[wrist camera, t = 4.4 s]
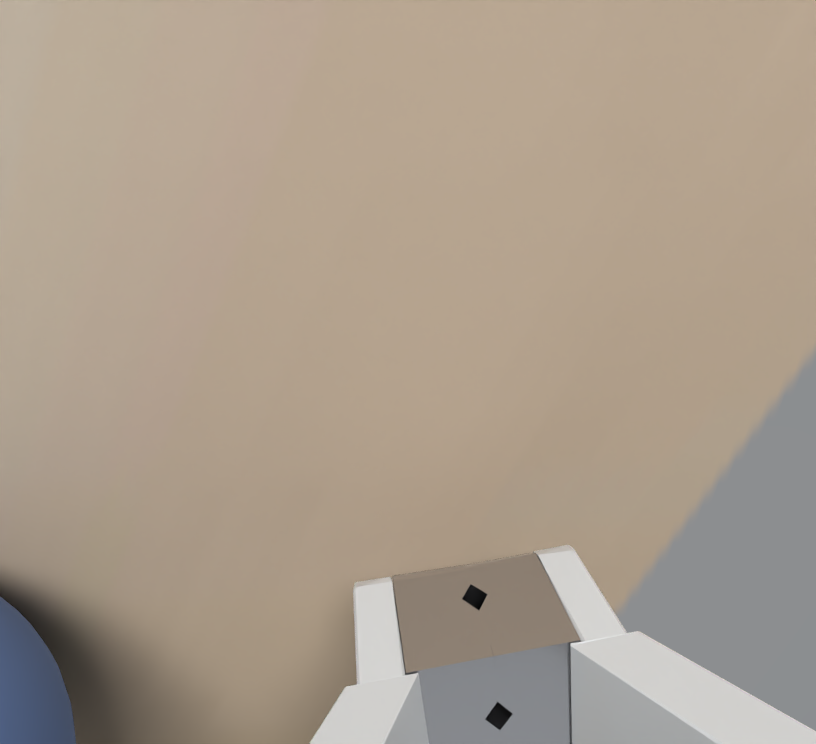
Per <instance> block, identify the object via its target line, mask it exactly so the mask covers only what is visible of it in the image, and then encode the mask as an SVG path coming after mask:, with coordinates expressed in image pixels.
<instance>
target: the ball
mask: <svg viewBox="0 0 816 744" xmlns="http://www.w3.org/2000/svg"><path fill="white" fill-rule="evenodd" d="M0 744H76V738H75V729H74V720H73V714H72V707H71V702H70V699H69V696H68V693H67V690H66V687H65V684H64V681H63V678H62V675H61V672H60V669H59V667H58V665H57V663H56V661H55V659H54V657H53V655H52V654H51V652H50V650H49V649H48V647H47V646H46V644H45V643H44V641H43V640H42V638H41V637H40V636H39V634H38V633H37V632H36V630H35V629H34V628H33V626H32V625H31V624H30V623H29V622H28V621H27V620H26V619H25V618H24V617H23V616H22V615H21V613H20V612H19V611H18V610H16V609H15V608H14V607H13V606H11V605H10V604H9V603H8V602H7V601H5V600H4V599H3V598H2V597H0Z"/></svg>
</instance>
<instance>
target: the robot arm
mask: <svg viewBox="0 0 816 744" xmlns="http://www.w3.org/2000/svg"><path fill="white" fill-rule="evenodd" d="M392 578H393V583H392ZM392 578H391V577H385V578H379V579H373V580H366V581H360V582H355V584H354V589H353V598H354V622H355V646H356V670H357V684H356V685H352V686H347V687H345V688H344V689H343V691H342V692H341V694H340V696H339V697H338V699H337V700H336V702H335V703H334V705H333V707H332V708H331V710H330V711H329V713H328V714H327V716H326V718H325V719H324V721H323V722H322V724H321V726H320V727H319V729H318V730H317V732H316V733H315V735H314V737H313V738H312V740H311V741H310V743H309V744H816V731H815V730H813V729H811V728H809V727H808V726H806V725H804V724H802V723H800V722H799V721H797V720H795V719H793V718H792V717H790V716H788V715H786V714H785V713H783V712H781V711H779V710H777V709H775V708H774V707H772V706H770V705H769V704H767V703H765V702H763V701H761V700H760V699H758V698H756V697H754V696H753V695H751V694H749V693H747V692H746V691H744V690H742V689H740V688H739V687H737V686H735V685H733V684H731V683H730V682H728V681H726V680H724V679H723V678H720V677H719V676H717V675H716V674H714V673H712V672H710V671H708V670H707V669H705V668H703V667H701V666H700V665H698V664H696V663H694V662H693V661H691V660H689V659H687V658H685V657H684V656H682V655H680V654H678V653H677V652H675V651H673V650H671V649H670V648H668V647H666V646H664V645H662V644H660V643H659V642H657V641H655V640H654V639H652V638H650V637H648V636H647V635H644V634H643V633H641V632H639V631H637V632H631V633H627V632H626V630H625V629H624V627H623V626H622V624H621V622H620V621H619V619H618V618H617V616H616V614H615V613H614V611H613V610H612V608H611V607H610V605H609V603H608V602H607V600H606V599H605V597H604V595H603V594H602V592H601V591H600V589H599V588H598V586H597V584H596V583H595V581H594V580H593V578H592V576H591V575H590V573H589V572H588V570H587V568H586V567H585V565H584V564H583V562H582V561H581V559H580V557H579V556H578V554H577V553H576V551H575V549H574V548H572V547H571V546H569V545H563V546H558V547H553V548H548V549H543V550H538V551H533V553H527V554H522V555H516V556H511V557H505V558H500V559H494V560H489V561H483V562H478V563H472V564H467V565H460V566H454V567H447V568H441V569H434V570H427V571H421V572H414V573H408V574H401V575H395V576H392ZM393 586H394V589H393ZM394 594H395V596H394ZM395 601H396V602H395Z"/></svg>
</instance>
